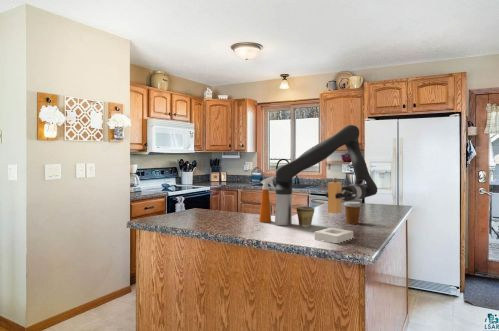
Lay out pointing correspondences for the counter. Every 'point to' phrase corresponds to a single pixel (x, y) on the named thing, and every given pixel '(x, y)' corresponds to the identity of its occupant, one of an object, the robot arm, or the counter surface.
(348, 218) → the disposable coffee cup
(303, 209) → the olive green flower pot
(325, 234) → the socket
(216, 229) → the counter surface
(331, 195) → the plug
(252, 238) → the counter surface
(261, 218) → the spray bottle
